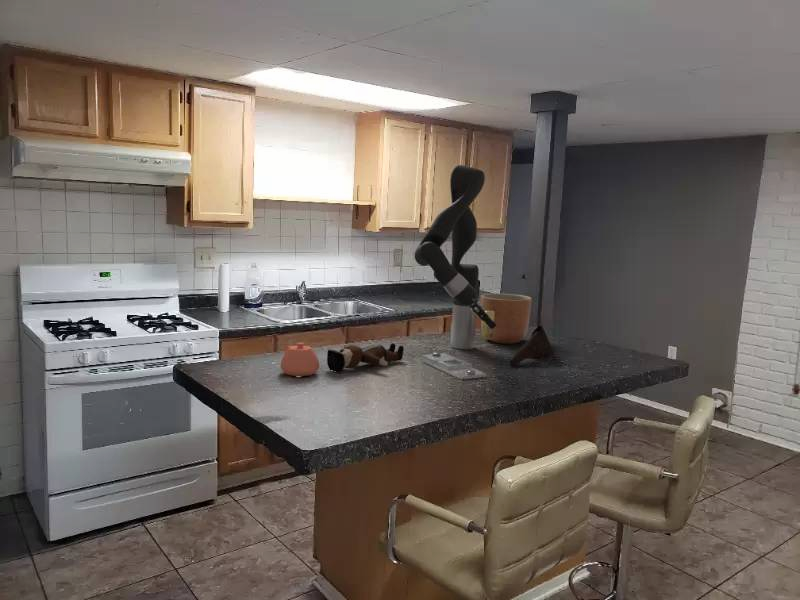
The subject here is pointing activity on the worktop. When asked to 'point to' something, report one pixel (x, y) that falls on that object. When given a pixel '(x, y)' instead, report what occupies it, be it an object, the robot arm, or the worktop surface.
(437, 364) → the grey metal plate
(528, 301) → the planter
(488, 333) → the pin
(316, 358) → the sugar bowl
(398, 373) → the worktop surface
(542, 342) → the holster
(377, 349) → the toy
